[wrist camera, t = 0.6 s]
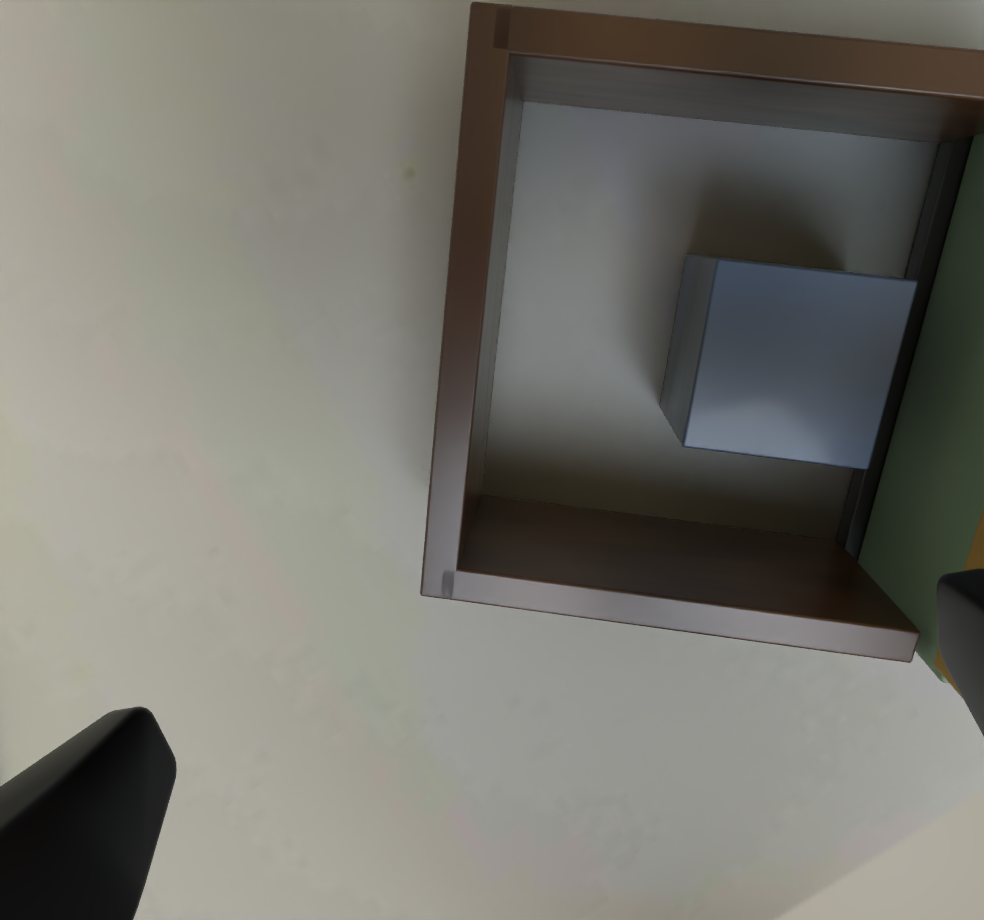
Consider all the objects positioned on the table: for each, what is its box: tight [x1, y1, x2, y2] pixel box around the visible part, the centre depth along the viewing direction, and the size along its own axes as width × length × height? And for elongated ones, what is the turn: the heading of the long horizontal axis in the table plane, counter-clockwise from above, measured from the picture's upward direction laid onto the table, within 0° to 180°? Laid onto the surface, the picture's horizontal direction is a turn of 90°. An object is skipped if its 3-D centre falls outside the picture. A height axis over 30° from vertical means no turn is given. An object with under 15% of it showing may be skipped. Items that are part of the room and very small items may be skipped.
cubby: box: [420, 2, 984, 663], centre depth 17 cm, size 12×12×5 cm
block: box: [660, 254, 917, 469], centre depth 18 cm, size 4×4×4 cm
